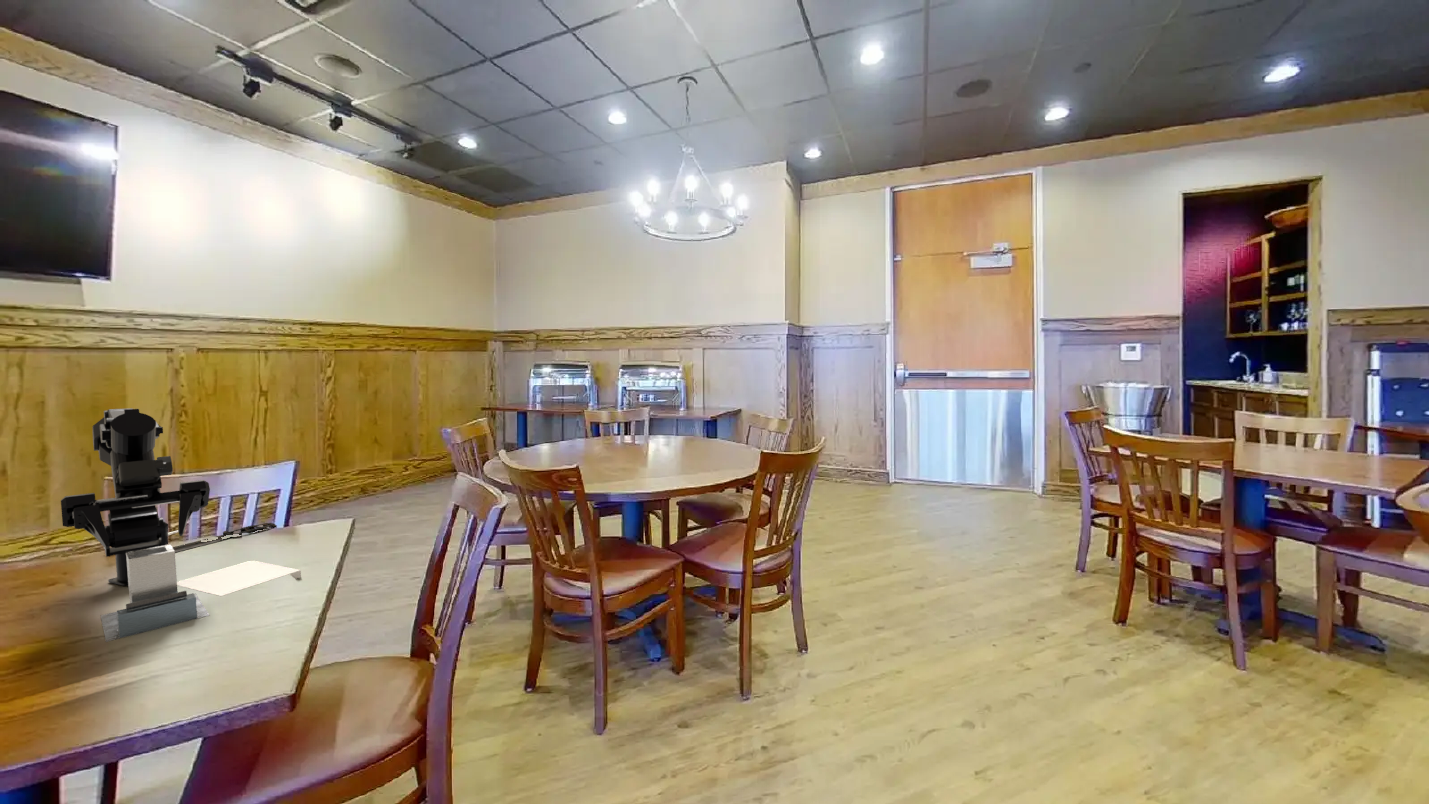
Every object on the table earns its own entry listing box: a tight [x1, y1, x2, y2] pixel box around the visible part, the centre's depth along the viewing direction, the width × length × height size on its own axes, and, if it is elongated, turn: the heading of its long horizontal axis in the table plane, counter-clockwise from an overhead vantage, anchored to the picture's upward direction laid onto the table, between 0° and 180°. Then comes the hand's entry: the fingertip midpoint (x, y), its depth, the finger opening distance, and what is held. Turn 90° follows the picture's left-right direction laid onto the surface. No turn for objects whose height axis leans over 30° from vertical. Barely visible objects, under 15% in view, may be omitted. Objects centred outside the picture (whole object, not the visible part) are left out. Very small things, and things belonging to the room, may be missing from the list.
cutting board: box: [177, 559, 302, 597], centre depth 114 cm, size 16×14×2 cm
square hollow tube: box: [126, 544, 178, 603], centre depth 96 cm, size 5×5×11 cm
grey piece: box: [100, 590, 210, 643], centre depth 96 cm, size 14×12×6 cm
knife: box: [172, 522, 278, 553], centre depth 143 cm, size 25×6×1 cm, turn 155°
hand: (145, 540), depth 100 cm, fingers open, 9 cm apart
